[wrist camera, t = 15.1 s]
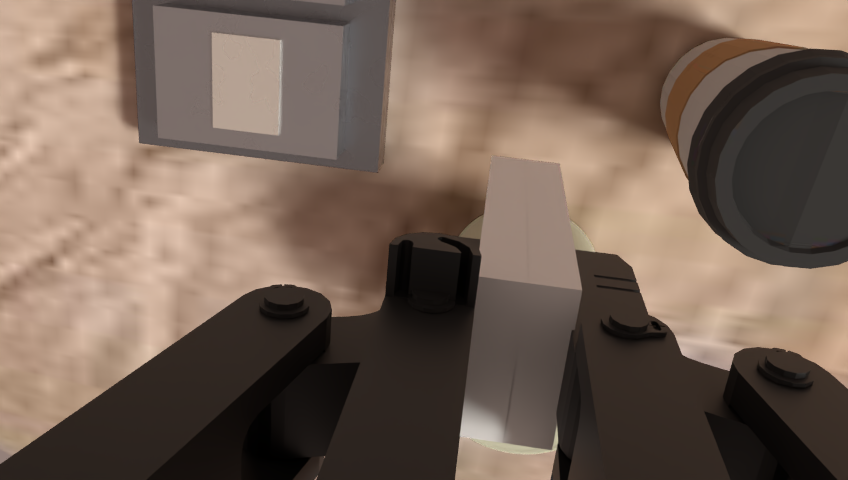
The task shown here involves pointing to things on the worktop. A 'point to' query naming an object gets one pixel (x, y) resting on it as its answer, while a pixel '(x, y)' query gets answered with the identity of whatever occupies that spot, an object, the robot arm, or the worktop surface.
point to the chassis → (266, 78)
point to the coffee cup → (765, 146)
